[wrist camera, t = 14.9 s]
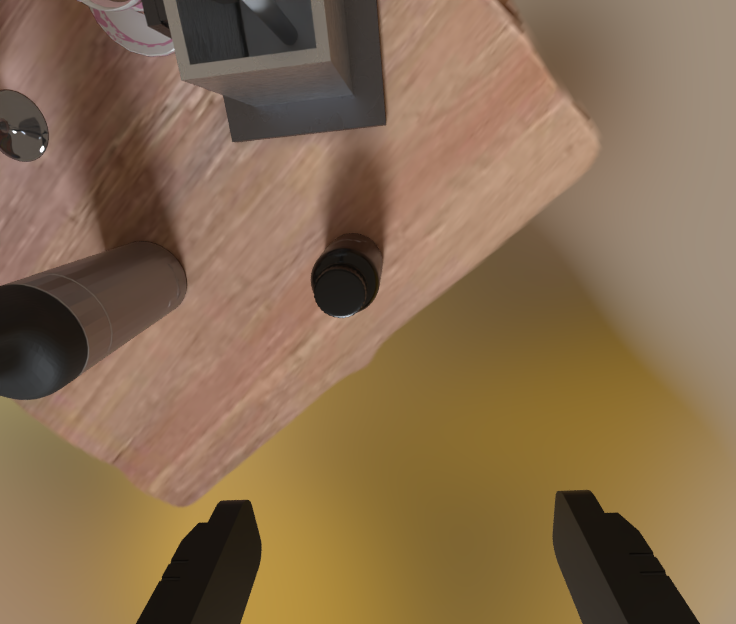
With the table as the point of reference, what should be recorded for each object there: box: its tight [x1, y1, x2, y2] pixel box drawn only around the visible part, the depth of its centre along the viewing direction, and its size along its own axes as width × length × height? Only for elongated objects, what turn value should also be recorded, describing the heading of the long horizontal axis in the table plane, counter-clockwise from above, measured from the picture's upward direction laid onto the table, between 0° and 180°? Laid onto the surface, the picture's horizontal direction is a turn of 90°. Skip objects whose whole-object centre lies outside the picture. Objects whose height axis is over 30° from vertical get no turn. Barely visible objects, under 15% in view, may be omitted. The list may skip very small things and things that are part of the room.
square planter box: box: [141, 0, 386, 142], centre depth 32 cm, size 16×16×16 cm
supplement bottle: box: [311, 233, 383, 318], centre depth 42 cm, size 7×7×12 cm
